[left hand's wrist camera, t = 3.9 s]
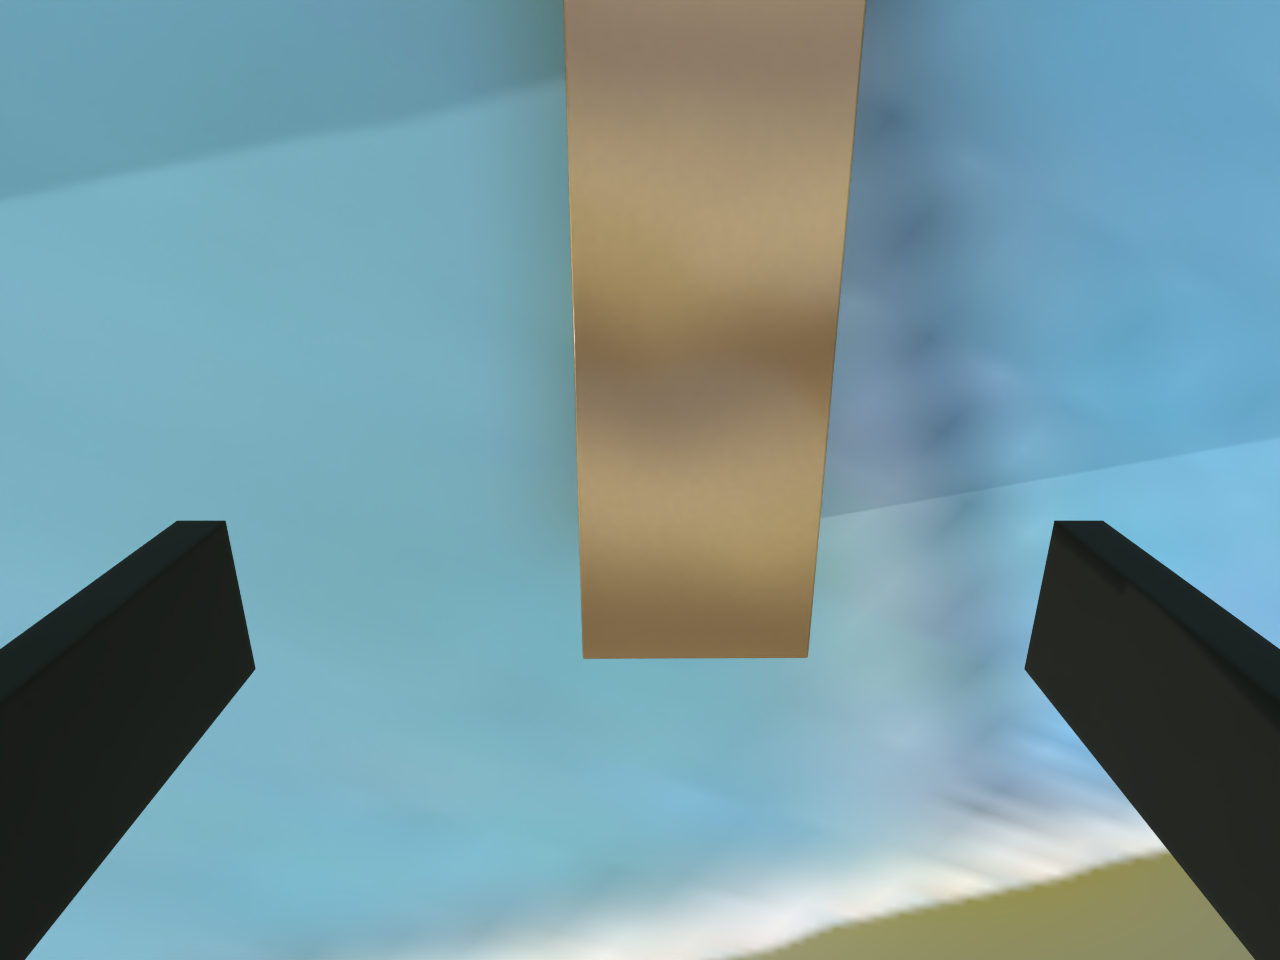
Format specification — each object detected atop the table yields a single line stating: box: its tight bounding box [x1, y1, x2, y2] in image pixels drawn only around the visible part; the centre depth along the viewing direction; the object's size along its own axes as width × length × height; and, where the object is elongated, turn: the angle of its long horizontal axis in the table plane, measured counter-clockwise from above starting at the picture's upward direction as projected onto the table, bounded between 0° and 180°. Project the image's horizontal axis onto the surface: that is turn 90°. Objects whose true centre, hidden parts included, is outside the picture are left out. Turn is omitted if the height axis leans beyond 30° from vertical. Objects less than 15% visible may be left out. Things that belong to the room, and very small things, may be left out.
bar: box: [563, 0, 866, 659], centre depth 20 cm, size 28×6×8 cm, turn 0°
